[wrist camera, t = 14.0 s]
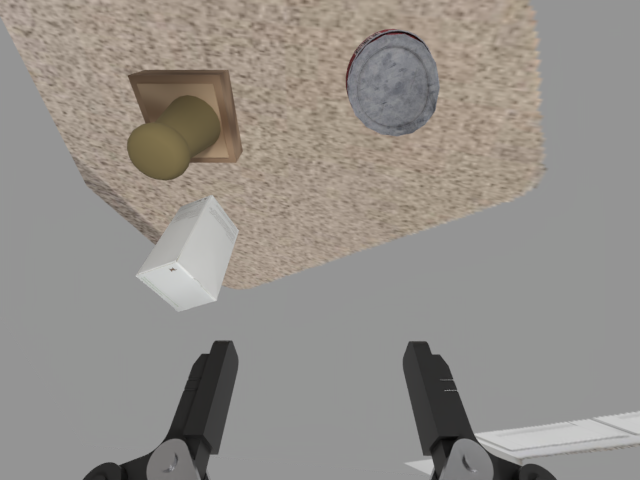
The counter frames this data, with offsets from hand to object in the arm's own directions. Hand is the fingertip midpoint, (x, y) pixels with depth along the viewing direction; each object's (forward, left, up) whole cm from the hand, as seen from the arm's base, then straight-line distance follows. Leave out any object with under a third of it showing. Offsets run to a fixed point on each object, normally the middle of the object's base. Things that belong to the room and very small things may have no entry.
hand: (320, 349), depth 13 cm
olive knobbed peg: (-2, -15, -28) cm, 32 cm away
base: (-2, -16, -32) cm, 36 cm away
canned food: (-6, +8, -32) cm, 34 cm away
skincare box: (+15, -18, -32) cm, 40 cm away
